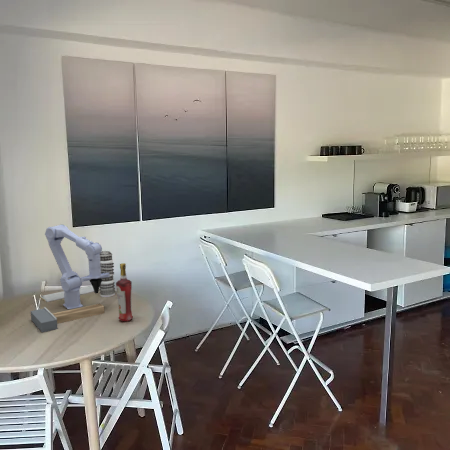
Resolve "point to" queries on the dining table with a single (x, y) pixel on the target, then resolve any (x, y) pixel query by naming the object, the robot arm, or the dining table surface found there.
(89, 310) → the oak plank
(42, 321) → the groove block
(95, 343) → the dining table surface
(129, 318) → the liquor
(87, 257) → the robot arm
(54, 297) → the baseboard
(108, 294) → the white tower model
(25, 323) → the dining table surface
